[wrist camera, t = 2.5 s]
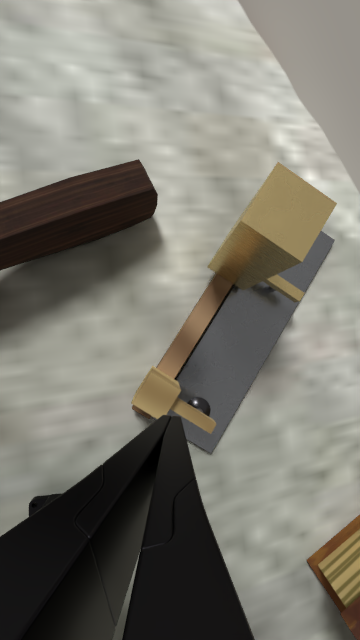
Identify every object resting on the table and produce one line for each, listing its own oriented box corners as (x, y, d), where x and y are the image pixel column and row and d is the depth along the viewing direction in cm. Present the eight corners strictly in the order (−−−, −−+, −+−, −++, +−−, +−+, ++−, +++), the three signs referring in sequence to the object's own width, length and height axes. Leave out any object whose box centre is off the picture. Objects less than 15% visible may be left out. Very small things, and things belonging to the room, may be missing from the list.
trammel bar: (190, 439, 22) (197, 465, 17) (129, 401, 21) (121, 419, 17) (314, 230, 24) (346, 209, 20) (261, 193, 24) (282, 164, 19)
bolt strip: (209, 450, 22) (211, 454, 21) (153, 416, 21) (152, 418, 21) (331, 242, 24) (335, 239, 23) (281, 208, 24) (285, 204, 23)
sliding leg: (279, 317, 22) (369, 307, 13) (206, 268, 22) (240, 220, 12) (299, 283, 22) (401, 248, 13) (227, 234, 22) (278, 162, 12)
